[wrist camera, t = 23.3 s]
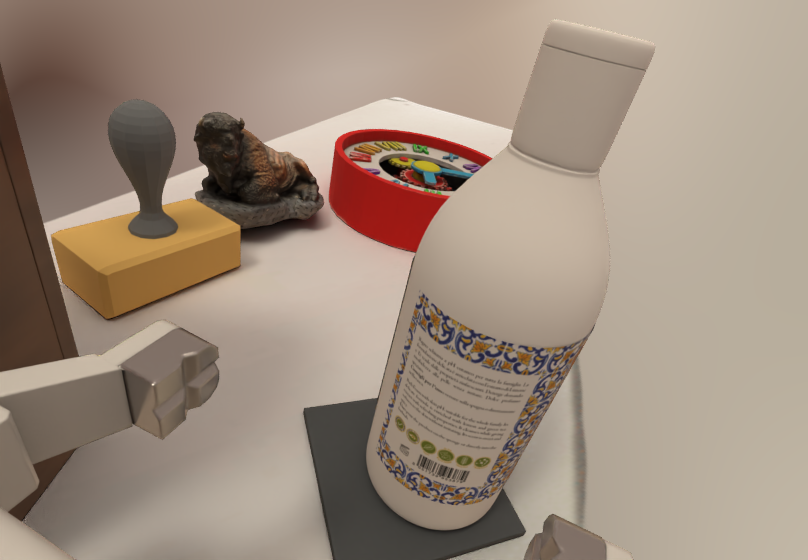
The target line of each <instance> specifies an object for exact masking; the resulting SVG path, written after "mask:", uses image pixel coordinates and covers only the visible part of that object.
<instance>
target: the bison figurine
mask: <svg viewBox="0 0 808 560" xmlns="http://www.w3.org/2000/svg"><path fill="white" fill-rule="evenodd" d="M240 119H241V120H240V121H237V120H236V119H234V118H233V117H231V116H230V115H228V114H226V113H221V112H213V113H209V114H206V115H204V116H203V117H202V118H201V119H200V121H199V123H198V124H197V127H196V132H195V136H194V141H196V143H197V147H198V151H199V160H200V161H201V162H202V163H203V164H204V165H206V167H207V168H208V172H209V176H208V177H206V178H204V179H203V181H202V187H203V190H201V191H197V192H196V193H195V196H196V199H197V201H199V202H201V203H202V204H204V205H206V206H207V207H209V208H211V209H212V210H214V211H216V212H218V213H219V214H221V215H223V216H224V217H226V218H228V219H229V220H231V221H233V222H235V223H236V224H238V225H240V229H245V228H252V227H257V226H264V225H271V224H274V223H276V222H279V221H281V220H285V219H292V218H299V219H303V220H305V219H309V218H310V217H311V216H312V215H313V214H315V213H316V212H317V211H318V210H319V209H321V208H322V206H323V205H324V202H323V197H322V195H321V194H320V193H318V191H319V187H318V185H317V182H316V178H315V177H314V176H313V175H312V174H311V172H310V171H309V168H308V166H307V165H306V163H305V162H304V161H303V160H302V159H299V158H296V157H294V156H293V155H292V154H291V153H289V152H277V151H275V150H274V149H272V148H270V147H268V146H266V145H265V144H263V143H262V142H261V141H260V140H258V139H257V137H255V136H254V135H253V134H252V133H250V132H249V131H247V130H245V129H244V124H245V123H244V121H243V119H242V118H240Z"/></svg>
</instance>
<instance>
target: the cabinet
mask: <svg viewBox="0 0 808 560" xmlns="http://www.w3.org/2000/svg"><path fill="white" fill-rule="evenodd" d="M75 357H79V355H78V352H77V348H76V344H75V341H74V337H73V333H72V329H71V326H70V322H69V318H68V314H67V311H66V307H65V303H64V299H63V296H62V292H61V288H60V285H59V281H58V277H57V273H56V270H55V266H54V262H53V258H52V255H51V251H50V247H49V243H48V240H47V236H46V232H45V229H44V225H43V221H42V217H41V214H40V210H39V206H38V203H37V199H36V195H35V191H34V188H33V184H32V180H31V176H30V173H29V169H28V165H27V162H26V158H25V154H24V150H23V146H22V143H21V139H20V135H19V132H18V128H17V124H16V120H15V117H14V113H13V109H12V105H11V102H10V98H9V94H8V90H7V87H6V83H5V79H4V75H3V72H2V68H1V64H0V372H3V371H8V370H13V369H19V368H24V367H29V366H34V365H39V364H44V363H49V362H54V361H59V360H65V359H70V358H75ZM75 449H76V448H75ZM75 449H72V450H69V451H67V452H64V453H62V454H59V455H56V456H54V457H51V458H49V459H46V460H43V461H41V462H38V463H35V464H33V467H34V469H35V472H36V474H37V477H38V479H39V481H40V482H39V485H38V488H37V489H36V490H35V491H34V492H32V493H31V494H30V495H28V496H27V497H26V498H25V499H23V500H22V501H21V502H20V503H18V504H17V505H16V506H15V507H13V508H12V509H11V510H10V511H8V513H10V514H11V515H12V516H14V517H15V518H17V519H18V520H20V521H21V520H22V519H23V518H24V517H25V515H26V514H27V513H28V511H29V510H30V509H31V507H32V506H33V505H34V503H35V502H36V501H37V499H38V498H39V497H40V495H41V494H42V493H43V491H44V490H45V489H46V488H47V486H48V485H49V484H50V482H51V481H52V480H53V478H54V477H55V476H56V474H57V473H58V472H59V470H60V469H61V468H62V466H63V465H64V464H65V462H66V461H67V460H68V459H69V457H70V456H71V455H72V453H73V452H74V451H75Z"/></svg>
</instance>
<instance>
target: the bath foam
mask: <svg viewBox="0 0 808 560" xmlns="http://www.w3.org/2000/svg"><path fill="white" fill-rule="evenodd" d="M542 43H543V44H541V47H540V51H539V53H538V57H537V59H536V62H535V65H534V68H533V71H532V74H531V77H530V81H529V84H528V86H527V90H526V92H525V95H524V98H523V102H522V104H521V107H520V111H519V114H518V117H517V120H516V123H515V126H514V130H513V133H512V137H511V141H510V142H509V143H508V146H507V147H506V148H505V149H503V150H502V151H501V152H500V153H499V154H498V155H496V156H495V157H494V158H493V159H492V160H490V161H489V162H488V163H487V164H486V165H484V166H483V167H482V168H481V169H480V170H479V171H477V172H476V173H475V174H474V175H473V176H472V177H470V178H469V179H468V180H467V181H466V182H465V183H464V184H463V185H462V186H460V187H459V188H458V189H457V190H456V191H455V192H454V193H453V194H452V195H451V196H450V197H449V198H448V200H447V201H446V202H445V203H444V204H443V205H442V206H441V208H440V209H439V210H438V212H437V213H436V215H435V216H434V218H433V219H432V221H431V222H430V224H429V226H428V228H427V230H426V231H425V233H424V235H423V238H422V240H421V242H420V244H419V247H418V250H417V252H416V255H415V256H414V258H413V261H412V265H411V269H410V273H409V277H408V281H407V285H406V289H405V293H404V297H403V301H402V305H401V309H400V313H399V317H398V321H397V325H396V329H395V333H394V337H393V341H392V344H391V348H390V352H389V356H388V360H387V364H386V368H385V372H384V376H383V380H382V384H381V388H380V392H379V396H378V400H377V404H376V408H375V412H374V413H375V415H374V419H373V423H372V427H371V431H370V435H369V439H368V443H367V450H366V462H367V469H368V473H369V476H370V479H371V482H372V484H373V486H374V488H375V490H376V491H377V493H378V494H379V496H380V497H381V499H382V500H383V501H384V502H385V503H386V504H387V506H388V507H390V508H391V509H392V510H393V511H394V512H395V513H396V514H398V515H399V516H401V517H402V518H404V519H405V520H407V521H409V522H411V523H413V524H416V525H418V526H421V527H424V528H428V529H434V530H454V529H459V528H463V527H466V526H468V525H470V524H472V523H474V522H476V521H477V520H479V519H480V518H481V517H482V516H484V515H485V514H486V512H487V511H488V510H489V509H490V508H491V506H492V505H493V503H494V502H495V500H496V498H497V496H498V495H499V493H500V491H501V489H502V488H503V486H504V484H505V483H506V481H507V480H508V478H509V476H510V474H511V473H512V471H513V469H514V467H515V466H516V464H517V462H518V460H519V459H520V457H521V455H522V453H523V452H524V450H525V448H526V446H527V445H528V443H529V441H530V439H531V438H532V436H533V434H534V432H535V431H536V429H537V427H538V425H539V424H540V422H541V420H542V418H543V416H544V415H545V413H546V411H547V409H548V408H549V406H550V404H551V402H552V401H553V399H554V397H555V395H556V394H557V392H558V390H559V388H560V387H561V385H562V383H563V381H564V380H565V378H566V376H567V374H568V373H569V371H570V369H571V367H572V366H573V364H574V362H575V360H576V359H577V357H578V355H579V353H580V351H581V350H582V348H583V346H584V344H585V343H586V341H587V339H588V337H589V336H590V334H591V332H592V330H593V328H594V326H595V322H596V320H597V318H598V315H599V313H600V310H601V308H602V305H603V302H604V298H605V294H606V290H607V285H608V280H609V272H610V245H609V235H608V228H607V221H606V215H605V209H604V203H603V198H602V192H601V187H600V181H599V175H598V174H599V171H600V169H599V168H600V167H601V165H602V164H603V162H604V160H605V158H606V156H607V154H608V152H609V150H610V147H611V146H612V144H613V141H614V139H615V137H616V135H617V133H618V131H619V129H620V126H621V124H622V122H623V120H624V118H625V116H626V113H627V111H628V109H629V107H630V105H631V103H632V101H633V98H634V96H635V94H636V92H637V90H638V87H639V85H640V83H641V81H642V79H643V77H644V75H645V72H646V69H647V68H648V66H649V64H650V62H651V59H652V57H653V54H654V51H655V45H654V44H653V43H652V42H649V41H645V40H642V39H638V38H635V37H631V36H627V35H623V34H619V33H615V32H611V31H607V30H602V29H598V28H594V27H589V26H586V25H581V24H576V23H572V22H568V21H563V20H558V19H555V20H552V21H551V22H550V24H549V25H548V28H547V30H546V33H545V35H544V38H543V42H542Z"/></svg>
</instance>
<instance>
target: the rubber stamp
mask: <svg viewBox="0 0 808 560" xmlns="http://www.w3.org/2000/svg"><path fill="white" fill-rule="evenodd" d="M108 135H109V141H110V144H111V147H112V149H113V152H114V154H115V156H116V158H117V160H118V161H119V163H120V165H121V167H122V168H123V170H124V172H125V173H126V175H127V176H128V178H129V180H130V181H131V183H132V185H133V187H134V189H135V191H136V193H137V195H138V198H139V202H140V211H138V212H134V213H130V214H126V215H121V216H117V217H113V218H109V219H105V220H101V221H97V222H93V223H89V224H85V225H81V226H77V227H73V228H68V229H64V230H60V231H58V232H56V233H54V234H52V235H51V238H52V244H53V248H54V252H55V255H56V259H57V263H58V267H59V271H60V274H61V278H62V282H63V283H64V284H66V285H67V286H68V287H69V288H70V289H71V290H73V291H74V292H75V293H76V294H77V295H79V296H80V297H81V298H82V299H83V300H84V301H86V302H87V303H88V304H89V305H90V306H92V307H93V308H94V309H95V310H96V311H97V312H99V313H100V314H101V315H102V316H103V317H105V318H106V319H109V318H114V317H116V316H119V315H121V314H123V313H126V312H128V311H131V310H133V309H136V308H138V307H140V306H143V305H145V304H148V303H150V302H153V301H155V300H158V299H160V298H162V297H165V296H167V295H170V294H172V293H175V292H177V291H179V290H182V289H184V288H187V287H189V286H192V285H194V284H197V283H199V282H201V281H204V280H206V279H209V278H211V277H214V276H216V275H218V274H221V273H223V272H226V271H228V270H231V269H233V268H236V267H238V266H240V225H238V224H236V223H235V222H233V221H231V220H229V219H228V218H226V217H224V216H223V215H221V214H219V213H218V212H216V211H214V210H212V209H211V208H209V207H207V206H206V205H204V204H202V203H201V202H199V201H197V200H195V199H192V198H191V199H187V200H183V201H179V202H174V203H170V204H166V205H162V193H163V188H164V185H165V182H166V179H167V176H168V173H169V170H170V168H171V165H172V162H173V158H174V154H175V147H176V139H175V132H174V128H173V126H172V124H171V122H170V120H169V119H168V117H167V116H166V115H165V113H164V112H162V111H161V110H160V109H159V108H158V107H156V106H155V105H154V104H152V103H149V102H147V101H144V100H129V101H126V102H123V103H122V104H121V105H120V106H118V107H117V108H116V109H115V110H114V111H113V113H112V114H111V116H110V119H109V122H108Z"/></svg>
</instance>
